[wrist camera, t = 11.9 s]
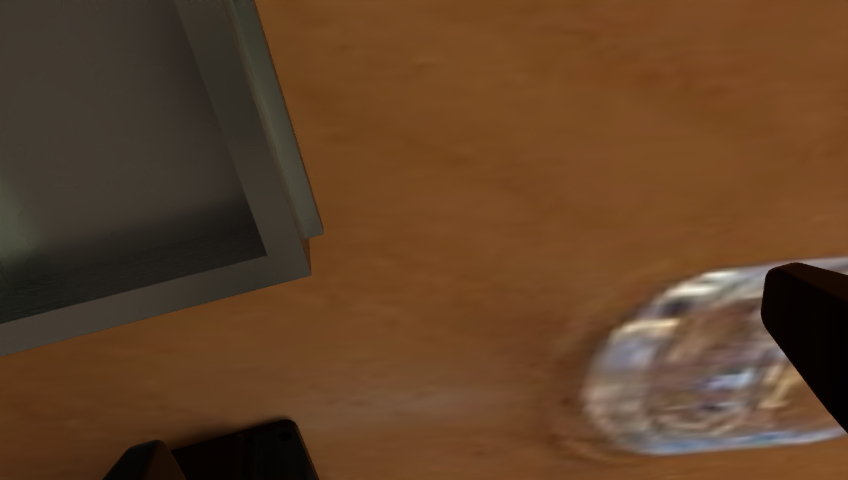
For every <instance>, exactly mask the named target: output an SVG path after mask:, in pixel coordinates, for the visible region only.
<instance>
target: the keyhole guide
mask: <svg viewBox="0 0 848 480" xmlns="http://www.w3.org/2000/svg"><path fill="white" fill-rule="evenodd" d="M321 234H324V233H323V225H322V222H321V219H320V215H319V212H318V209H317V205H316V202H315V199H314V195H313V192H312V189H311V186H310V182H309V179H308V176H307V172H306V169H305V166H304V162H303V159H302V156H301V153H300V149H299V146H298V143H297V139H296V136H295V133H294V129H293V126H292V123H291V120H290V116H289V113H288V110H287V106H286V103H285V100H284V96H283V93H282V90H281V87H280V83H279V80H278V77H277V73H276V70H275V67H274V63H273V60H272V57H271V54H270V50H269V47H268V44H267V40H266V37H265V34H264V30H263V27H262V24H261V21H260V17H259V14H258V11H257V7H256V4H255V1H254V0H0V356H4V355H8V354H12V353H16V352H20V351H23V350H27V349H31V348H35V347H39V346H43V345H46V344H50V343H54V342H58V341H62V340H65V339H69V338H73V337H77V336H81V335H85V334H88V333H92V332H96V331H100V330H104V329H108V328H111V327H115V326H119V325H123V324H127V323H131V322H134V321H138V320H142V319H146V318H150V317H154V316H157V315H161V314H165V313H169V312H173V311H177V310H180V309H184V308H188V307H192V306H196V305H199V304H203V303H207V302H211V301H215V300H219V299H222V298H226V297H230V296H234V295H238V294H242V293H245V292H249V291H253V290H257V289H261V288H265V287H268V286H272V285H276V284H280V283H284V282H288V281H291V280H295V279H299V278H303V277H307V276H311V262H310V247H309V238H310V237H314V236H317V235H321Z"/></svg>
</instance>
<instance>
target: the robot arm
mask: <svg viewBox="0 0 848 480" xmlns="http://www.w3.org/2000/svg"><path fill="white" fill-rule="evenodd" d="M761 318H762V321H763V324H764V326H765V328H766V329H767V331H768V332H769V333H770V335H771V336H772V337H773V339H774V340H775V342H776V343H777V344H778V346H779V347H780V348H781V350H782V351H783V352H784V354H785V355H786V356H787V358H788V359H789V360H790V362H791V363H792V364H793V366H794V367H795V368H796V370H797V371H798V372H799V374H800V375H801V376H802V378H803V379H804V380H805V382H806V383H807V384H808V386H809V387H810V388H811V390H812V391H813V393H814V394H815V395H816V397H817V398H818V399H819V400H820V402H821V403H822V404H823V405H824V407H825V408H826V409H827V410H828V412H829V413H830V414H831V415H832V416H833V417H834V419H835V420H836V421H837V422H838V423H839V424H840V426H841V427H842V428H843V429H844V430H845V431H846V432H847V433H848V275H845V274H841V273H838V272H834V271H830V270H826V269H822V268H818V267H814V266H811V265H807V264H803V263H796V262H795V263H789V264H786V265H782V266H779V267H775V268H772V269H771V270H769V271H768V273H767V274H766V277H765V283H764V291H763V298H762V305H761ZM282 432H289V433H285V434H283V433H282ZM102 480H319V478H318V475H317V473H316V470H315V468H314V465H313V463H312V460H311V458H310V456H309V453H308V451H307V448H306V446H305V443H304V441H303V438H302V436H301V433H300V431H299V428H298V426H297V424H296V423H295V422H293V421H292V420H280V421H277V422H273V423H269V424H266V425H262V426H259V427H255V428H252V429H248V430H245V431H241V432H237V433H234V434H230V435H227V436H223V437H220V438H216V439H213V440H209V441H205V442H202V443H198V444H195V445H191V446H188V447H184V448H181V449H177V450H173V451H170V450H169V448H168V446H167V445H166V444H165V443H164V442H163V441H161V440H153V441H149V442H146V443H142V444H138V445H135V446H133V447H130V448H129V449H128V450H127V451H126V452H125V453H124V454H123V455H122V456H121V458H120V459H119V460H118V461H117V462H116V464H115V465H114V466H113V467H112V468H111V470H110V471H109V472H108V473H107V474H106V476H105V477H104V478H103V479H102Z"/></svg>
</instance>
